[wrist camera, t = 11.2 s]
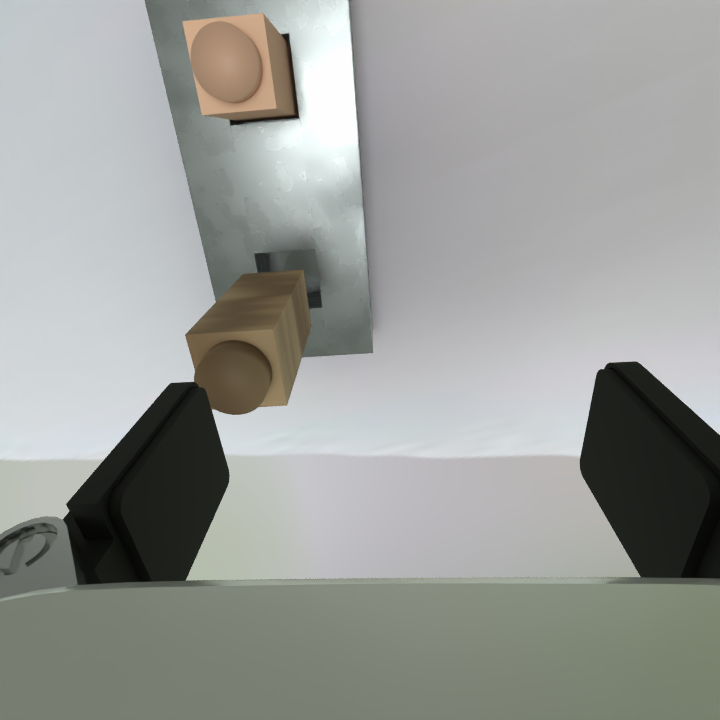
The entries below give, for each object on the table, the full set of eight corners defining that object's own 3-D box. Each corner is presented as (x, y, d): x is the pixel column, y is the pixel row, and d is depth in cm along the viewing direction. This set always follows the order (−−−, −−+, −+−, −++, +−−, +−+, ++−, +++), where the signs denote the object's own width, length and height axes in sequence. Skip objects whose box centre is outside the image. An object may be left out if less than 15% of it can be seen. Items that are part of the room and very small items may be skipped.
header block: (347, -34, 29) (343, -67, 24) (372, 329, 40) (372, 352, 36) (170, -16, 29) (134, -44, 25) (245, 337, 41) (230, 361, 36)
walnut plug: (303, 269, 28) (267, 340, 18) (311, 326, 30) (282, 419, 20) (242, 273, 28) (174, 346, 18) (254, 330, 30) (197, 423, 20)
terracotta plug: (294, 51, 30) (257, 6, 20) (302, 117, 32) (272, 106, 22) (237, 57, 30) (172, 15, 20) (248, 122, 32) (193, 113, 22)
